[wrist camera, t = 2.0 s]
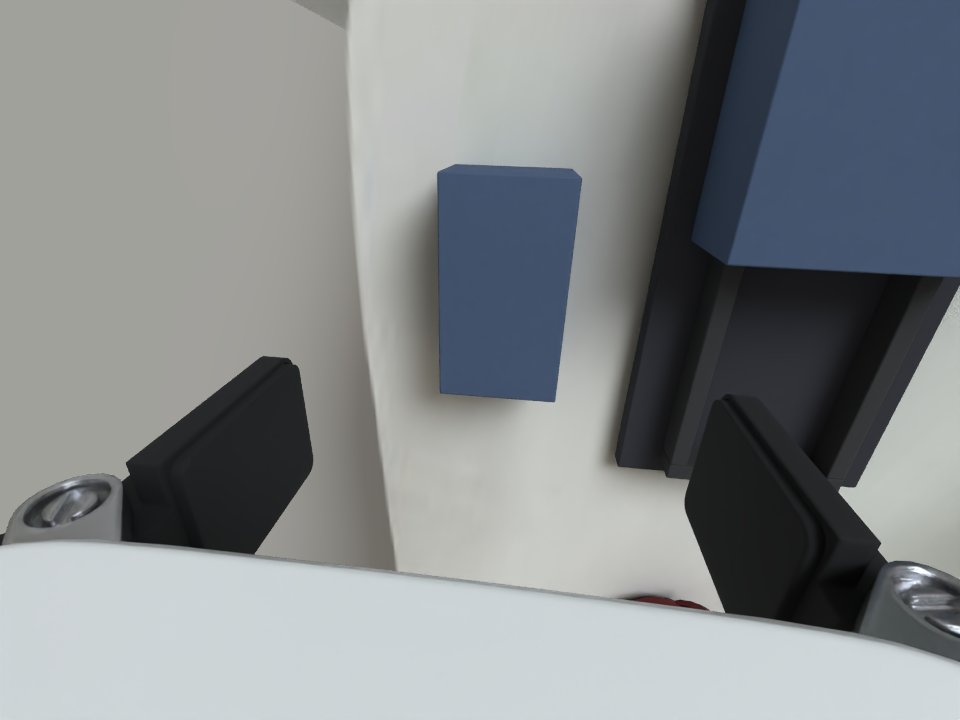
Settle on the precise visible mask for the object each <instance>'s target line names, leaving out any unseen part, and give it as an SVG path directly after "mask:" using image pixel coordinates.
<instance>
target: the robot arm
mask: <svg viewBox="0 0 960 720" xmlns="http://www.w3.org/2000/svg"><path fill="white" fill-rule="evenodd" d="M126 465H127V468H128V470H129V473H130V475H129V476H128V477H127V478H126V479H124V480H123V481H122V482H121V480H120V479H118V478H117V477H115V476H114V475H109V474H104V473H103V474H87V475H82V476H77V477H73V478H70V479H67V480H64V481H61V482H58V483H56V484H54V485H52V486H50V487H47V488H45V489H43V490H41V491H39V492H38V493H36V494H35V495H33V496H32V497H30V498H28V499H27V500H26V501H25V502H24V503H22V504H21V505H20V506H19V507H18V508H17V509H16V510H15V512H14V513H13V515H12V517H11V518H10V521H9V524H8V527H7V530H6V533H4V534H1V535H0V720H960V580H959V579H957V578H955V577H953V576H951V575H950V574H947V573H945V572H942V571H940V570H938V569H935V568H933V567H930V566H927V565H923V564H919V563H915V562H911V561H893V562H890V563H888V562H887V561H886V560H885V558H884V557H883V556H882V555H881V554H880V552H879V551H878V548H879V546H880V544H881V542H880V541H879V540H878V539H877V538H876V536H875V535H874V534H873V533H872V532H871V530H870V529H869V528H868V527H867V526H866V525H865V523H864V522H863V521H862V520H861V519H860V517H859V516H858V515H857V514H856V513H855V512H854V510H853V509H852V508H851V507H850V506H849V505H848V503H847V502H846V501H845V500H844V499H843V497H842V496H841V495H840V494H839V493H838V492H837V490H836V489H835V488H834V487H833V486H832V484H831V483H830V482H829V481H828V480H827V479H826V477H825V476H824V475H823V474H822V473H821V471H820V470H819V469H818V468H817V467H816V466H815V464H814V463H813V462H812V461H811V460H810V459H809V457H808V456H807V455H806V454H805V453H804V451H803V450H802V449H801V448H800V447H799V446H798V444H797V443H796V442H795V441H794V440H793V438H792V437H791V436H790V435H789V434H788V433H787V431H786V430H785V429H784V428H783V427H782V425H781V424H780V423H779V422H778V421H777V420H776V418H775V417H774V416H773V415H772V414H771V413H770V411H769V410H768V409H767V408H766V407H765V405H764V404H763V403H762V402H761V401H760V400H759V398H757V397H756V396H749V395H736V394H725V395H724V396H723V397H722V399H721V400H717V399H716V400H715V401H714V402H713V404H712V406H711V409H710V413H709V416H708V420H707V423H706V426H705V430H704V433H703V437H702V440H701V443H700V447H699V450H698V454H697V457H696V460H695V464H694V467H693V471H692V474H691V478H690V481H689V484H688V488H687V491H686V495H685V511H686V514H687V517H688V519H689V522H690V524H691V527H692V529H693V532H694V534H695V537H696V539H697V542H698V544H699V547H700V550H701V552H702V555H703V557H704V560H705V562H706V565H707V567H708V570H709V572H710V575H711V577H712V580H713V583H714V585H715V588H716V590H717V593H718V595H719V598H720V600H721V603H722V605H723V608H724V610H725V613H721V612H714V611H707V610H700V609H692V608H685V607H677V606H669V605H661V604H654V603H646V602H638V601H630V600H622V599H615V598H607V597H599V596H591V595H583V594H576V593H568V592H560V591H552V590H544V589H536V588H528V587H520V586H512V585H504V584H496V583H488V582H480V581H472V580H463V579H455V578H447V577H439V576H431V575H422V574H414V573H406V572H398V571H389V570H381V569H373V568H365V567H364V568H363V567H355V566H347V565H338V564H330V563H321V562H313V561H304V560H296V559H287V558H278V557H270V556H261V555H254V554H255V552H256V551H257V549H258V548H259V546H260V545H261V543H262V542H263V541H264V539H265V538H266V536H267V535H268V533H269V532H270V531H271V529H272V528H273V526H274V524H275V523H276V522H277V520H278V519H279V517H280V516H281V514H282V513H283V512H284V510H285V509H286V507H287V506H288V504H289V503H290V501H291V500H292V498H293V497H294V496H295V494H296V493H297V491H298V490H299V488H300V487H301V485H302V484H303V482H304V481H305V480H306V478H307V477H308V475H309V474H310V472H311V469H312V466H313V453H312V447H311V441H310V434H309V428H308V422H307V416H306V409H305V403H304V397H303V390H302V384H301V378H300V372H299V368H298V367H297V366H296V365H293V364H292V362H291V360H289V359H288V358H280V357H268V356H263V357H261V358H259V359H258V360H257V361H255V362H254V363H253V364H251V365H250V366H249V367H248V368H246V369H245V370H244V371H242V372H241V373H240V374H239V375H237V376H236V377H235V378H234V379H232V380H231V381H230V382H228V383H227V384H226V385H224V386H223V387H222V388H221V389H219V390H218V391H217V392H216V393H214V394H213V395H212V396H211V397H209V398H208V399H207V400H205V401H204V402H203V403H202V404H201V405H199V406H198V407H196V408H195V409H194V410H193V411H191V412H190V413H189V414H188V415H186V416H185V417H184V418H182V419H181V420H180V421H178V422H177V423H176V424H175V425H173V426H172V427H171V428H170V429H168V430H167V431H166V432H164V433H163V434H162V435H161V436H159V437H158V438H157V439H155V440H154V441H153V442H152V443H150V444H149V445H148V446H146V447H145V448H144V449H143V450H142V451H140V452H139V453H138V454H136V455H135V456H134V457H132V458H131V459H130V460H129V461H127V462H126Z"/></svg>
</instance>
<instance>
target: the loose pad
mask: <svg viewBox="0 0 960 720" xmlns="http://www.w3.org/2000/svg"><path fill="white" fill-rule="evenodd" d="M581 183H582V178H581V177H580V176H579V175H578V174H577V173H576V172H575V171H574V170H573V169H563V168H538V167H512V166H487V165H461V164H455V165H453V166H451V167H448V168H446V169H443V170H441V171H439V172H438V173H437V185H438V276H439V367H440V393H443V394H456V395H468V396H481V397H494V398H506V399H519V400H532V401H544V402H555V397H556V389H557V381H558V373H559V364H560V356H561V348H562V340H563V331H564V323H565V315H566V307H567V298H568V290H569V282H570V273H571V265H572V257H573V249H574V240H575V232H576V224H577V216H578V207H579V199H580V191H581Z"/></svg>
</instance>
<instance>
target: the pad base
mask: <svg viewBox="0 0 960 720" xmlns="http://www.w3.org/2000/svg"><path fill="white" fill-rule="evenodd" d="M959 286H960V0H707V3H706V8H705V13H704V18H703V22H702V27H701V32H700V37H699V42H698V47H697V52H696V57H695V62H694V67H693V72H692V77H691V82H690V87H689V92H688V97H687V102H686V107H685V112H684V116H683V121H682V126H681V131H680V136H679V141H678V146H677V151H676V156H675V161H674V166H673V171H672V176H671V181H670V186H669V191H668V196H667V201H666V205H665V210H664V215H663V220H662V225H661V230H660V235H659V240H658V245H657V250H656V255H655V260H654V265H653V270H652V275H651V280H650V285H649V290H648V295H647V299H646V304H645V309H644V314H643V319H642V324H641V329H640V334H639V339H638V344H637V349H636V354H635V359H634V364H633V369H632V374H631V379H630V384H629V388H628V393H627V398H626V403H625V408H624V413H623V418H622V423H621V428H620V433H619V438H618V443H617V448H616V453H615V457H616V461H617V465H618V466H619V467H629V468H640V469H651V470H662V471H665V474H666V477H667V478H678V479H689V480H690V478H691V474H692V471H693V467H694V464H695V460H696V457H697V454H698V450H699V447H700V443H701V440H702V437H703V433H704V430H705V426H706V423H707V420H708V416H709V413H710V409H711V406H712V404H713V402H714V401H715V400H716V399H717V400H721V399H722V397H723V396H724V395H725V394H736V395H749V396H756V397H757V398H759V400H760V401H761V402H762V403H763V404H764V405H765V407H766V408H767V409H768V410H769V411H770V413H771V414H772V415H773V416H774V417H775V418H776V420H777V421H778V422H779V423H780V424H781V425H782V427H783V428H784V429H785V430H786V431H787V433H788V434H789V435H790V436H791V437H792V438H793V440H794V441H795V442H796V443H797V444H798V446H799V447H800V448H801V449H802V450H803V451H804V453H805V454H806V455H807V456H808V457H809V459H810V460H811V461H812V462H813V463H814V464H815V466H816V467H817V468H818V469H819V470H820V471H821V473H822V474H823V475H824V476H825V477H826V479H827V480H828V481H829V482H830V483H831V484H832V486H833V487H834V488H835V489H836V490H837V492H838V491H839V489H840V487H841V486H843V487H856V485H857V483H858V481H859V479H860V477H861V475H862V474H863V472H864V470H865V468H866V466H867V464H868V462H869V460H870V458H871V456H872V454H873V452H874V450H875V448H876V446H877V444H878V443H879V441H880V439H881V437H882V435H883V433H884V431H885V429H886V427H887V425H888V423H889V421H890V419H891V417H892V415H893V413H894V411H895V410H896V408H897V406H898V404H899V402H900V400H901V398H902V396H903V394H904V392H905V390H906V388H907V386H908V384H909V382H910V380H911V379H912V377H913V375H914V373H915V371H916V369H917V367H918V365H919V363H920V361H921V359H922V357H923V355H924V353H925V351H926V349H927V348H928V346H929V344H930V342H931V340H932V338H933V336H934V334H935V332H936V330H937V328H938V326H939V324H940V322H941V320H942V318H943V317H944V315H945V313H946V311H947V309H948V307H949V305H950V303H951V301H952V299H953V297H954V295H955V293H956V291H957V289H958V287H959Z"/></svg>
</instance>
